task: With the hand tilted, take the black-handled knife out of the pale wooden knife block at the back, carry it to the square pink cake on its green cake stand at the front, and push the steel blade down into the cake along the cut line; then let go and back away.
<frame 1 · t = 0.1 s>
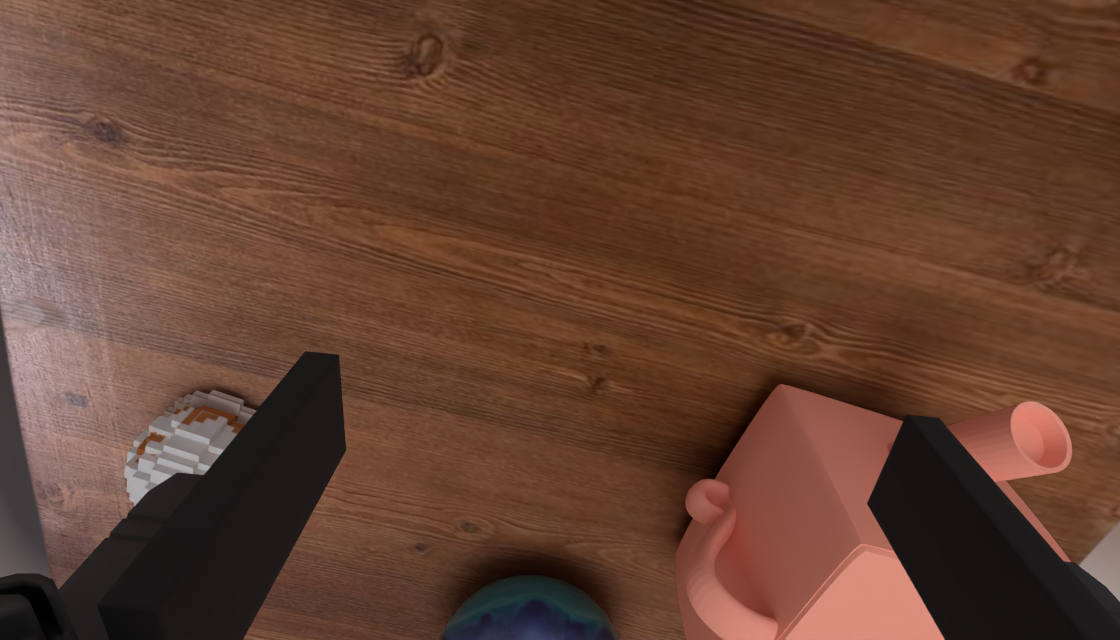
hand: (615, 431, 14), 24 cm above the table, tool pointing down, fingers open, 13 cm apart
vase: (535, 605, 53), on the table
decorative ornament: (226, 428, 46), on the table
teapot: (826, 450, 45), on the table
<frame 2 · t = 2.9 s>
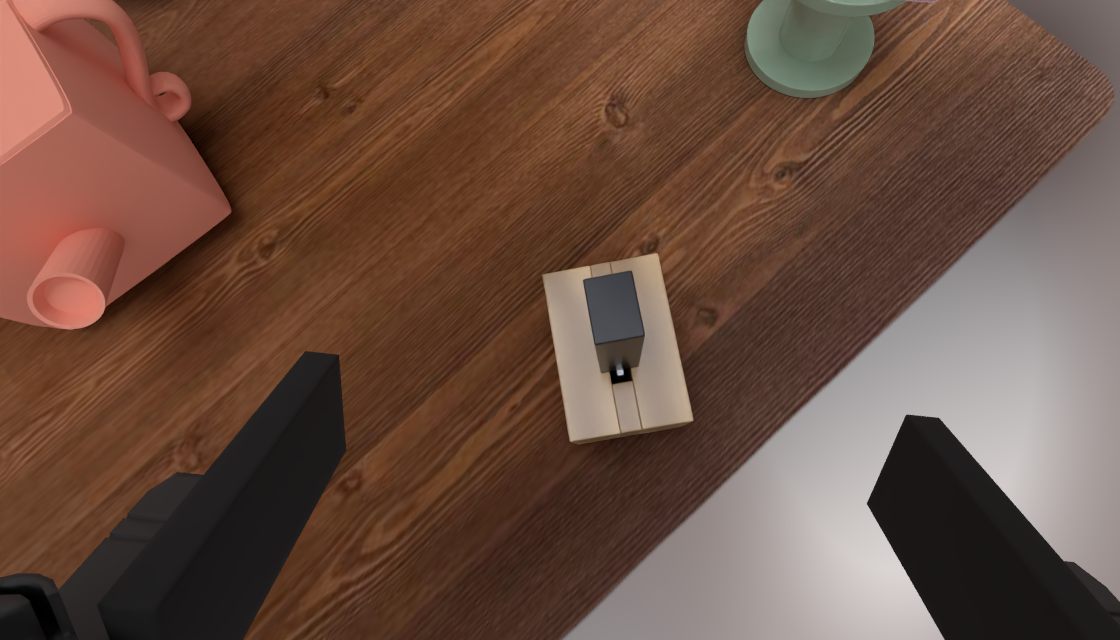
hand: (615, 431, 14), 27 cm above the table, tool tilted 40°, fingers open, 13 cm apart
cake stand: (806, 44, 45), on the table
knife block: (615, 362, 41), on the table
teapot: (142, 230, 47), on the table
knife: (614, 340, 34), in the knife block
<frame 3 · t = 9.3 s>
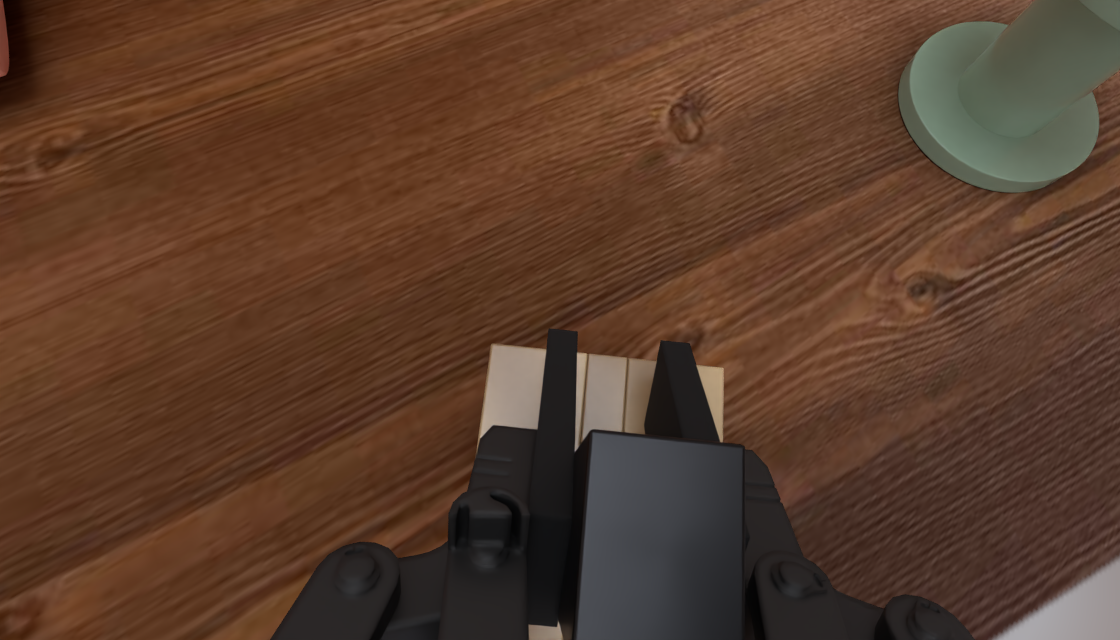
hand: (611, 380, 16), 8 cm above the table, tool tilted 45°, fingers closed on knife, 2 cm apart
cake stand: (989, 110, 30), on the table
knife block: (577, 527, 23), on the table
knife: (599, 533, 15), in the knife block, touching gripper
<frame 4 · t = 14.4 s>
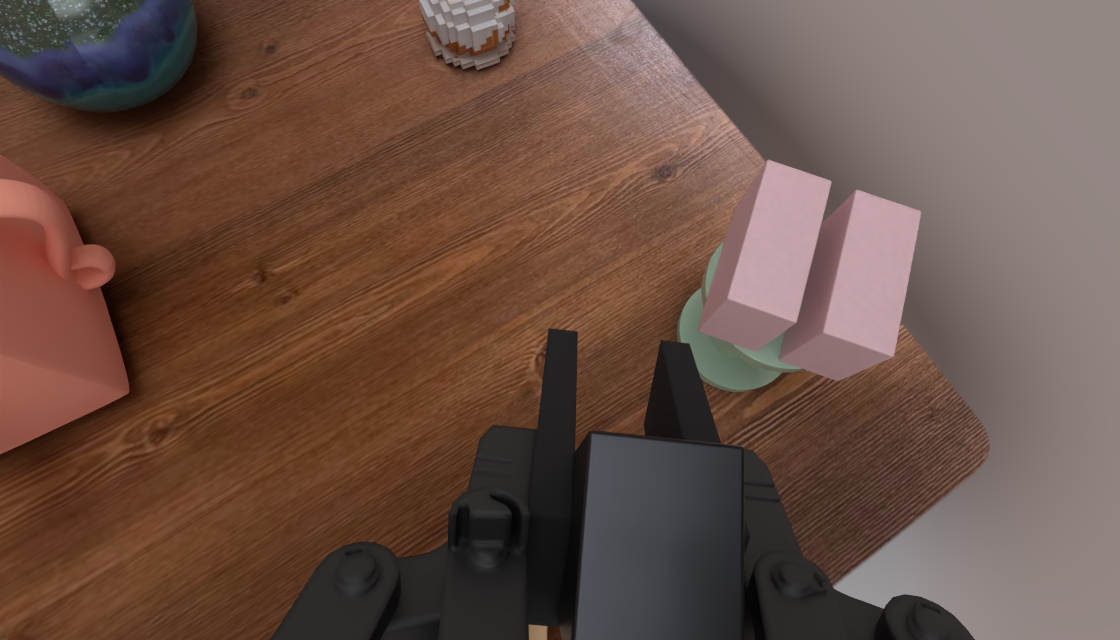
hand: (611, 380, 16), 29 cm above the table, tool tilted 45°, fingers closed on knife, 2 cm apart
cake: (783, 292, 38), resting on cake stand
cake stand: (732, 336, 48), on the table
vase: (133, 66, 53), on the table
decorative ornament: (472, 39, 56), on the table
teapot: (27, 383, 44), on the table
knife: (599, 534, 15), point 29 cm above the table, touching gripper
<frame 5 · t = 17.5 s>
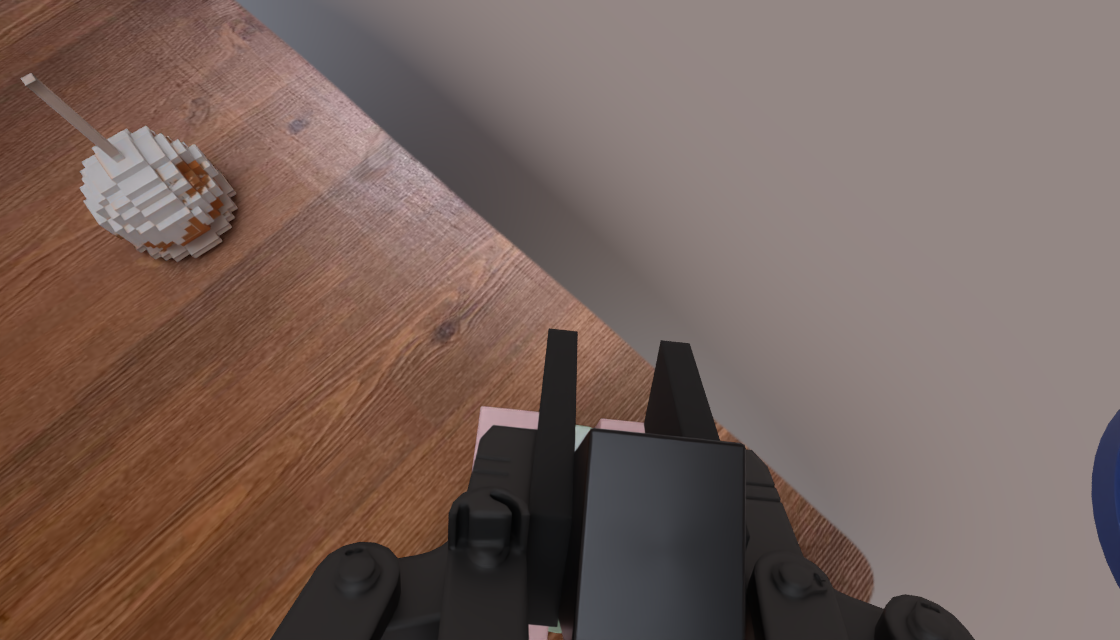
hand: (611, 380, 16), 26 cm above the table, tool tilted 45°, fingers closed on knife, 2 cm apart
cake: (567, 523, 31), resting on cake stand
cake stand: (559, 521, 40), on the table
decorative ornament: (187, 216, 46), on the table
knife: (599, 533, 15), point 26 cm above the table, touching gripper
when the fingers open (18 cm above the table, at t = 19.8 s): knife stays where it is, resting on cake stand.
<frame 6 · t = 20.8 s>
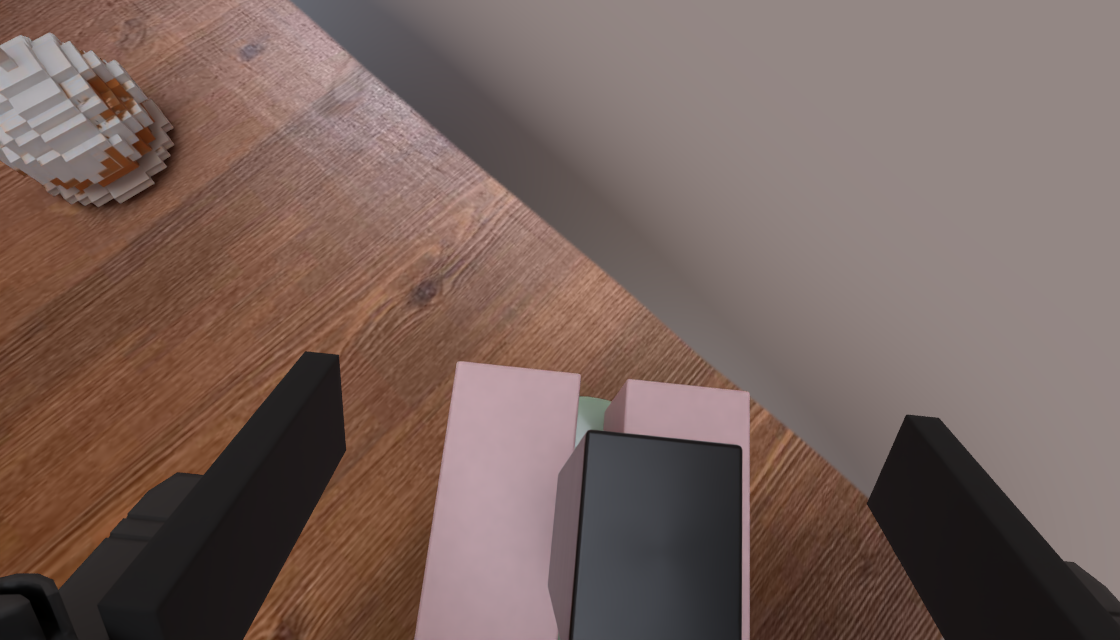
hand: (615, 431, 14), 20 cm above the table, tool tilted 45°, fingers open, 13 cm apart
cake: (577, 527, 23), resting on cake stand
cake stand: (563, 523, 32), on the table
decorative ornament: (114, 155, 38), on the table
knife: (597, 533, 15), on the cake stand, point 18 cm above the table
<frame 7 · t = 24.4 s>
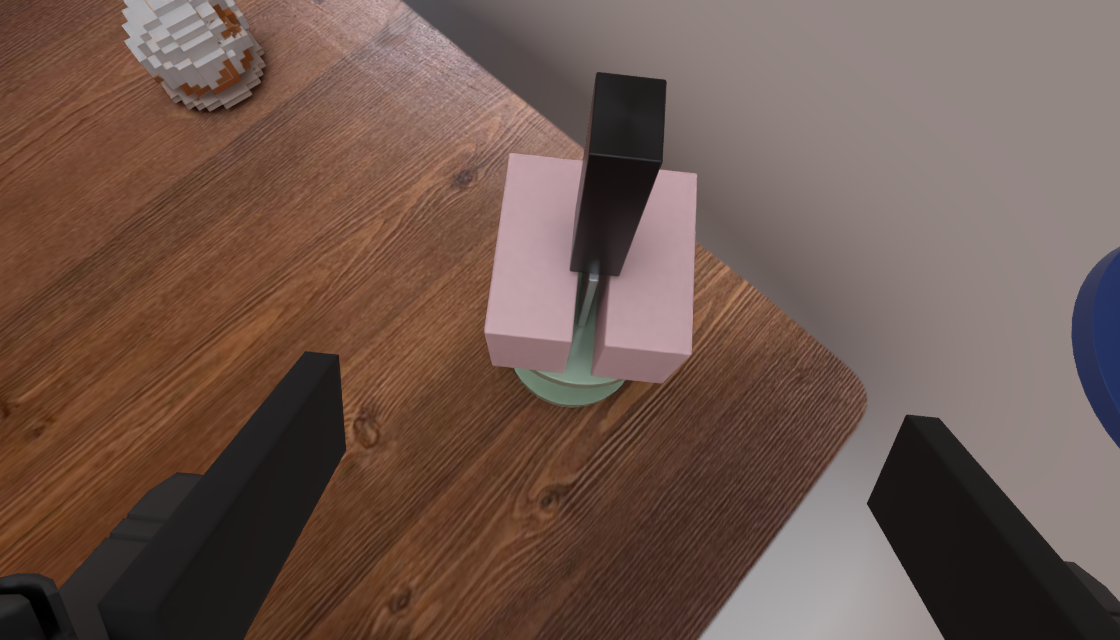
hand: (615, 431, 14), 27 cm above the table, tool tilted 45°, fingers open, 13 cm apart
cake: (584, 294, 33), resting on cake stand
cake stand: (572, 343, 43), on the table
decorative ornament: (218, 75, 48), on the table
knife: (599, 231, 26), on the cake stand, point 18 cm above the table
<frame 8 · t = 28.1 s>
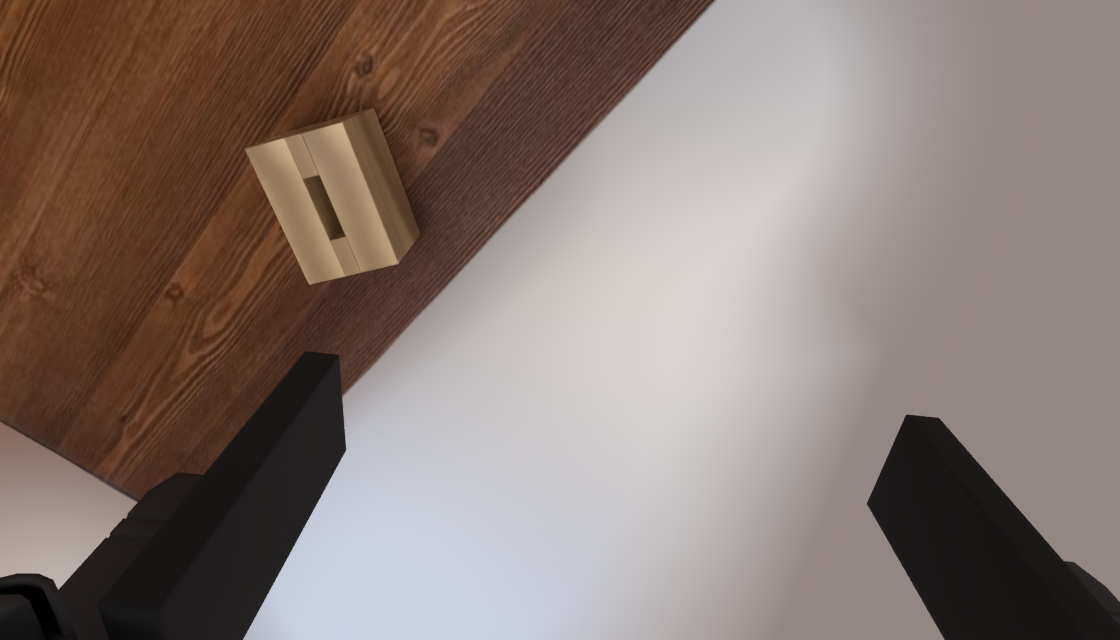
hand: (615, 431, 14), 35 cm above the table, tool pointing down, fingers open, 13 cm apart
knife block: (356, 184, 47), on the table
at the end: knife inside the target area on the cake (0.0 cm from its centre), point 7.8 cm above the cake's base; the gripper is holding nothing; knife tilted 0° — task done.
